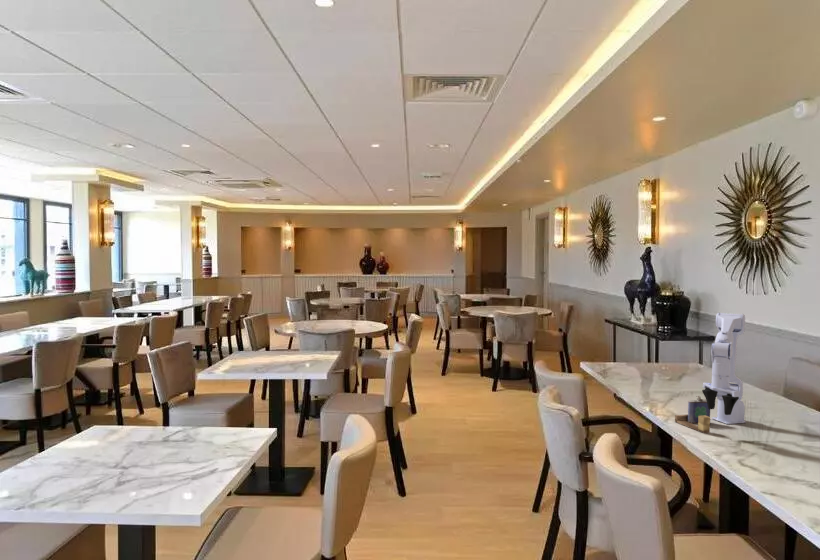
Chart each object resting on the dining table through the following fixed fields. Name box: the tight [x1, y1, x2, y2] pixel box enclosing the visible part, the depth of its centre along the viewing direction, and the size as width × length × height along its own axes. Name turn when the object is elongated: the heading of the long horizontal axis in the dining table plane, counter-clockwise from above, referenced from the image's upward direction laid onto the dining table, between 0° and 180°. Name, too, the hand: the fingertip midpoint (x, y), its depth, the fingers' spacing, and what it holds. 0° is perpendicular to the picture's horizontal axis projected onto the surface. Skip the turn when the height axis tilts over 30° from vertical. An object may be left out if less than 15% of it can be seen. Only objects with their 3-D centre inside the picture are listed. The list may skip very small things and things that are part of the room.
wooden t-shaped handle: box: [674, 413, 711, 434], centre depth 219 cm, size 12×15×6 cm
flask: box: [687, 395, 711, 425], centre depth 224 cm, size 9×3×11 cm, turn 97°
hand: (719, 411), depth 206 cm, fingers open, 7 cm apart
